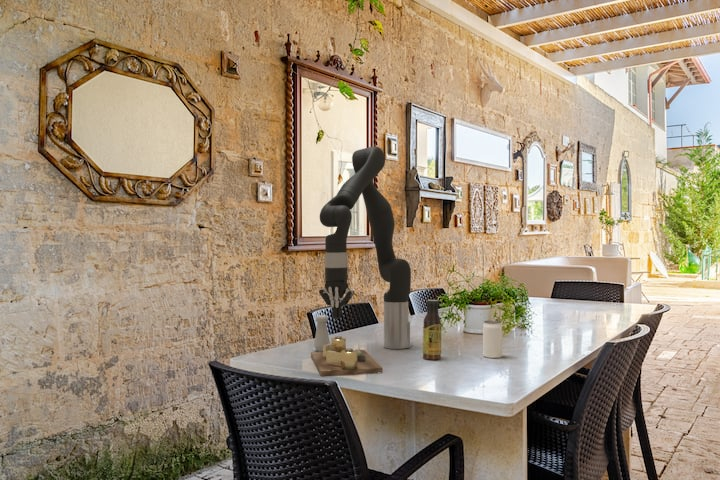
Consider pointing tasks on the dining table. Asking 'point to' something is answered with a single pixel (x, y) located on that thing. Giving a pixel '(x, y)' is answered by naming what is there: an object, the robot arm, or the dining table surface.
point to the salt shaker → (321, 333)
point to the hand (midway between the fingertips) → (336, 318)
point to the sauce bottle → (432, 332)
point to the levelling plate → (330, 369)
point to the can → (492, 339)
